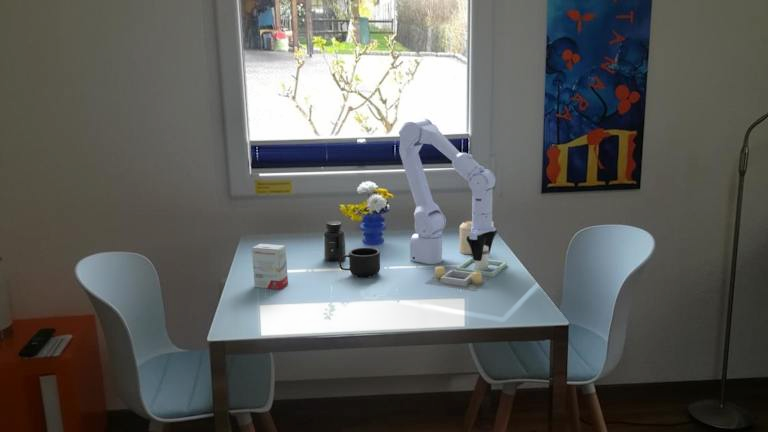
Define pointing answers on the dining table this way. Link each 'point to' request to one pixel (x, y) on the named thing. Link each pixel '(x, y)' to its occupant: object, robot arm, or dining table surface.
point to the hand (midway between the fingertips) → (481, 257)
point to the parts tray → (484, 273)
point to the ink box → (270, 266)
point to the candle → (465, 237)
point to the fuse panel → (458, 279)
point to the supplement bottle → (334, 242)
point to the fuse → (483, 260)
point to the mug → (363, 262)
